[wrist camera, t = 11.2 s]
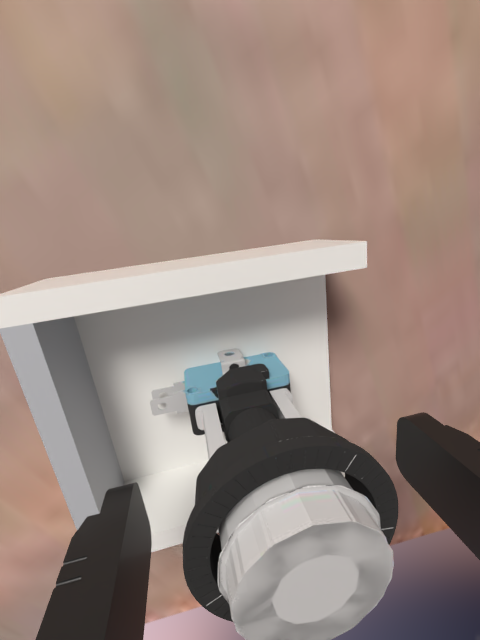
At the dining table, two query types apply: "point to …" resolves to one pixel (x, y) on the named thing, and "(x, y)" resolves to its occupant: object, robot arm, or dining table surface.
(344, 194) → the dining table surface
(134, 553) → the robot arm
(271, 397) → the push button
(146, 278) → the box
